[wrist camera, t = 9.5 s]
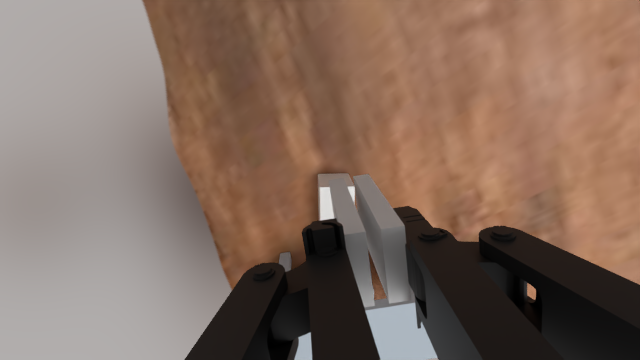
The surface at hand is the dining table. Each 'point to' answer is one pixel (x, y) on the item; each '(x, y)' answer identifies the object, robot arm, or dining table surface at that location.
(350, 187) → the white l-shaped block
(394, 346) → the bridge
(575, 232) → the dining table surface
